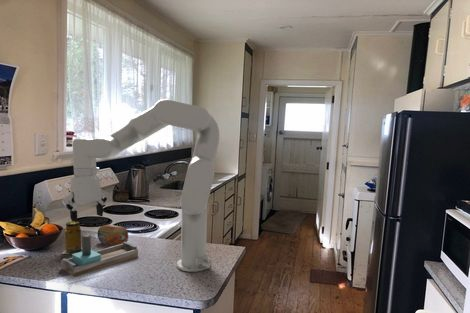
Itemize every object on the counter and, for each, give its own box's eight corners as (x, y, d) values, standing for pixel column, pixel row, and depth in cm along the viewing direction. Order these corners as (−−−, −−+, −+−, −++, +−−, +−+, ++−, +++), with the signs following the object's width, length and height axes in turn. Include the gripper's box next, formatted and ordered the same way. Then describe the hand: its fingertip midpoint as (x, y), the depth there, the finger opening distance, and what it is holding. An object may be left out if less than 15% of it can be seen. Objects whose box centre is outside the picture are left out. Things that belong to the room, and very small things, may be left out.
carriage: (101, 262, 132) (100, 236, 131) (82, 268, 127) (82, 240, 126) (90, 256, 137) (89, 231, 136) (72, 261, 132) (71, 235, 131)
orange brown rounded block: (97, 243, 158) (96, 224, 157) (101, 240, 161) (101, 222, 160) (125, 247, 153) (125, 228, 152) (129, 245, 156) (129, 226, 155)
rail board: (138, 256, 143) (138, 247, 143) (74, 276, 123) (74, 266, 123) (123, 250, 150) (123, 241, 149) (61, 268, 130) (61, 258, 130)
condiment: (68, 247, 151) (67, 220, 150) (88, 247, 152) (88, 220, 151) (61, 254, 144) (60, 225, 143) (83, 253, 145) (82, 225, 144)
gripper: (101, 168, 138) (103, 212, 139) (56, 174, 124) (58, 221, 126) (112, 170, 133) (114, 215, 134) (66, 176, 120) (68, 225, 121)
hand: (87, 218), depth 130 cm, fingers open, 9 cm apart
